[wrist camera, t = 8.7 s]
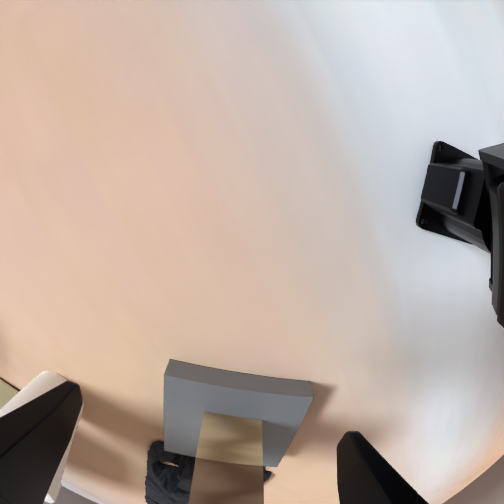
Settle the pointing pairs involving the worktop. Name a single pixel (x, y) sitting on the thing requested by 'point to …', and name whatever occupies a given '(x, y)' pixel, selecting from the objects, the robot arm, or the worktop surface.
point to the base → (231, 406)
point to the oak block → (230, 439)
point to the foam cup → (30, 392)
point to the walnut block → (226, 483)
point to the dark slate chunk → (171, 476)
